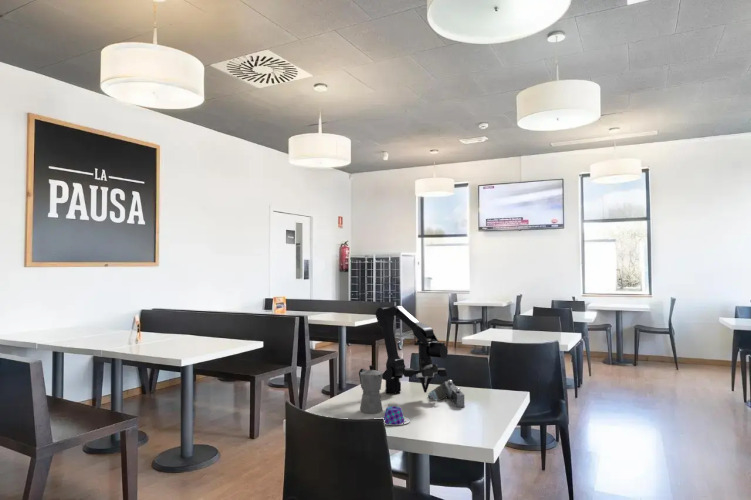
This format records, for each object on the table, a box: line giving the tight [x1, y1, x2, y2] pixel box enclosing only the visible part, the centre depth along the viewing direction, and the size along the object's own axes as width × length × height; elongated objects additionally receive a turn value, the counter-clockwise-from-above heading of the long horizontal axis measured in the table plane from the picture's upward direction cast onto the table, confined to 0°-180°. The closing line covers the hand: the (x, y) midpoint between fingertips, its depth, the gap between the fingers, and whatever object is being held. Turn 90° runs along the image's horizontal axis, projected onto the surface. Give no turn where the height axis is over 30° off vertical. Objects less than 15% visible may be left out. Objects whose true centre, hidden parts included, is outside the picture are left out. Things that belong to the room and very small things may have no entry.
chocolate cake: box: [427, 381, 451, 401], centre depth 221 cm, size 10×7×12 cm
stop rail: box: [444, 379, 465, 408], centre depth 219 cm, size 3×26×7 cm, turn 3°
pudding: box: [380, 405, 411, 426], centre depth 186 cm, size 12×12×5 cm
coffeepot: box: [358, 364, 384, 415], centre depth 202 cm, size 15×9×18 cm, turn 33°
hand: (425, 392), depth 219 cm, fingers closed
